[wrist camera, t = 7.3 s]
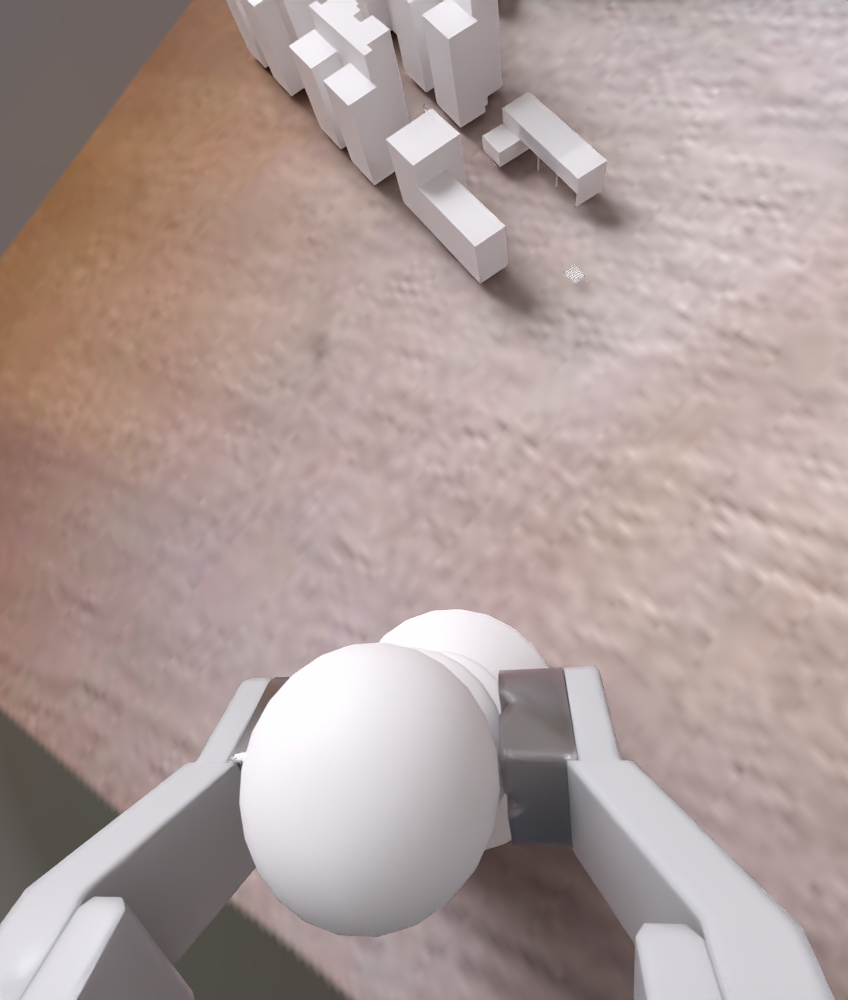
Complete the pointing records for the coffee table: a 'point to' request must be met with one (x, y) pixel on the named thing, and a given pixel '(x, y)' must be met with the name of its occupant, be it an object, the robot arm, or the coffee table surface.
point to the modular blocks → (428, 139)
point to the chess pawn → (383, 773)
